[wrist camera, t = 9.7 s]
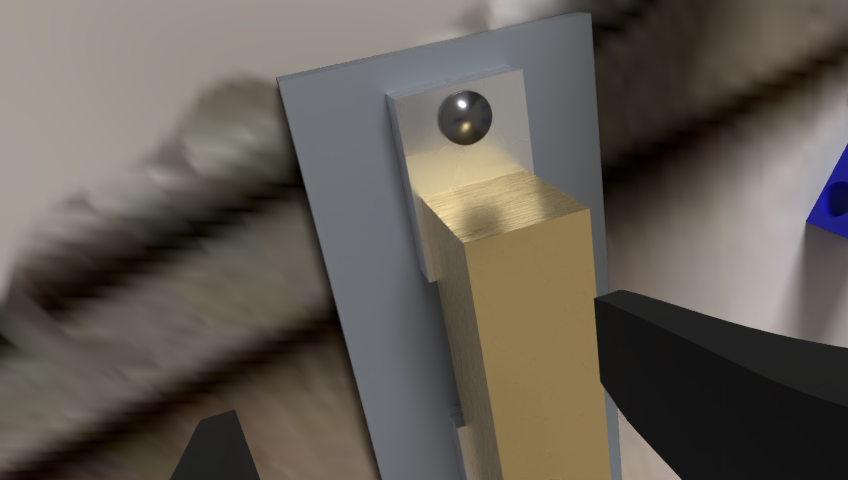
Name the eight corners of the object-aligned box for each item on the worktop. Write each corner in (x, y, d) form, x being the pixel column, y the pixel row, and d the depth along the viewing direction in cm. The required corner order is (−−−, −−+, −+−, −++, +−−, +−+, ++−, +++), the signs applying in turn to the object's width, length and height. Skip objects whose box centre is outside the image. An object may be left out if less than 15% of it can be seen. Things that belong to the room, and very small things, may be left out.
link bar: (476, 490, 25) (519, 576, 21) (421, 198, 20) (463, 244, 16) (560, 460, 25) (615, 538, 22) (526, 169, 21) (589, 208, 17)
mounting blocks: (470, 524, 27) (481, 551, 26) (384, 93, 20) (395, 100, 18) (558, 492, 28) (574, 516, 26) (507, 65, 20) (525, 70, 19)
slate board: (399, 548, 28) (405, 567, 27) (276, 77, 20) (278, 81, 19) (610, 471, 29) (622, 486, 29) (575, 12, 21) (591, 12, 21)
